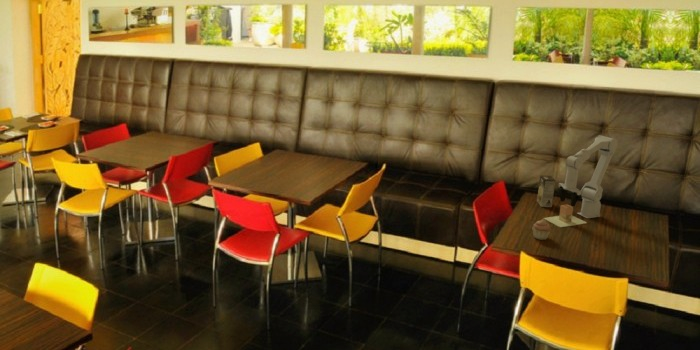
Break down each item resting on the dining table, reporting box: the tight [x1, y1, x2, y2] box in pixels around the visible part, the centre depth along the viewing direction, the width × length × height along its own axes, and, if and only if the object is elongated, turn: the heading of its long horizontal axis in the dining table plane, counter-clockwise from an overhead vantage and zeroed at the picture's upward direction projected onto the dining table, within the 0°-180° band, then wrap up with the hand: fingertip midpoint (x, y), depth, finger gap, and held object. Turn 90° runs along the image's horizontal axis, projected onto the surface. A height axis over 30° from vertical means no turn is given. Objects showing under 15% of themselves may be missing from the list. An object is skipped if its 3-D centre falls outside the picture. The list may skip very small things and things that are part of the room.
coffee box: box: [536, 175, 556, 208], centre depth 339 cm, size 9×6×16 cm
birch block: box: [558, 212, 573, 222], centre depth 316 cm, size 4×4×4 cm
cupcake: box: [531, 218, 552, 241], centre depth 293 cm, size 9×9×10 cm
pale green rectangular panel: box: [542, 215, 588, 228], centre depth 317 cm, size 18×13×1 cm
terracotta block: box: [559, 204, 574, 215], centre depth 315 cm, size 4×4×4 cm
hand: (567, 203), depth 314 cm, fingers open, 7 cm apart
